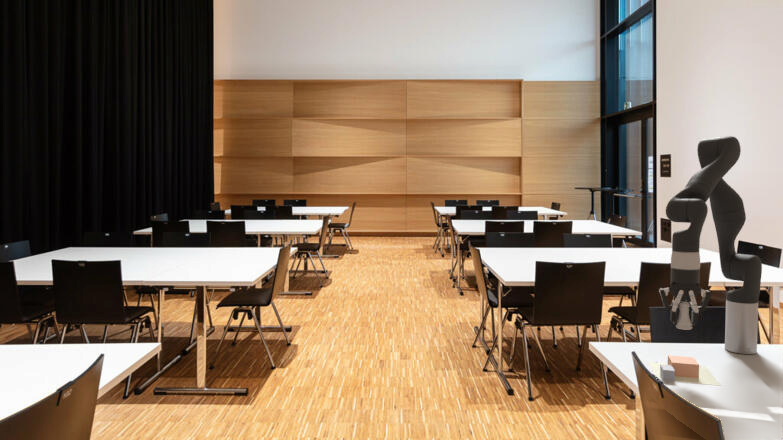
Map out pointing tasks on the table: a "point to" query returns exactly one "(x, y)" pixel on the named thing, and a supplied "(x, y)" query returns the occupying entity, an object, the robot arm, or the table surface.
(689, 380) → the plate
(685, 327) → the rook chess piece
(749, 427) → the table surface
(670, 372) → the slate brick
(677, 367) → the terracotta brick
